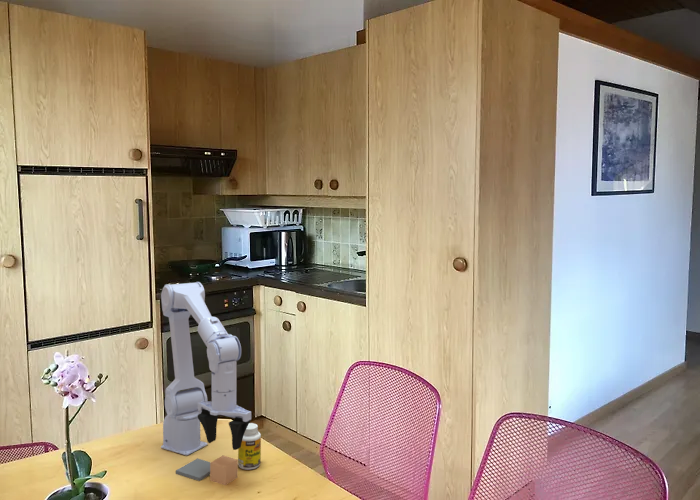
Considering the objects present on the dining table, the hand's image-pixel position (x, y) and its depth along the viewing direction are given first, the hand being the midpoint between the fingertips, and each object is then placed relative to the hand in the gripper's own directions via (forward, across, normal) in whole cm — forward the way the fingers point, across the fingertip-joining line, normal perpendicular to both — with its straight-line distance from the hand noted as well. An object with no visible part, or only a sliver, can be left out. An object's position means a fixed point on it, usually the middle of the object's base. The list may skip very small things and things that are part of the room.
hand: (224, 444), depth 136 cm
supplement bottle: (+9, +1, +8) cm, 12 cm away
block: (+8, 0, 0) cm, 9 cm away
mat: (+8, -8, 0) cm, 12 cm away
